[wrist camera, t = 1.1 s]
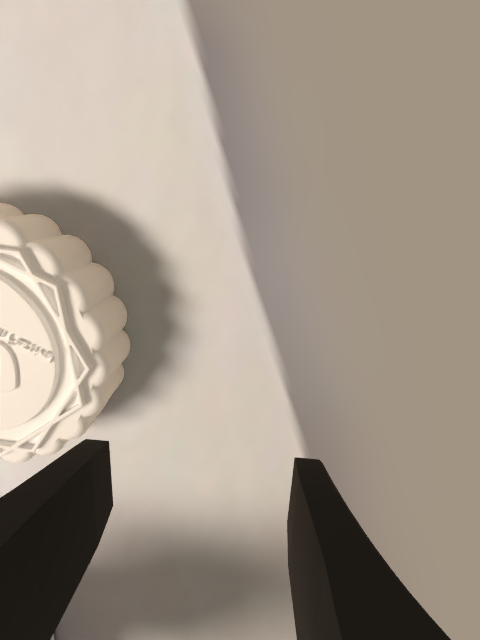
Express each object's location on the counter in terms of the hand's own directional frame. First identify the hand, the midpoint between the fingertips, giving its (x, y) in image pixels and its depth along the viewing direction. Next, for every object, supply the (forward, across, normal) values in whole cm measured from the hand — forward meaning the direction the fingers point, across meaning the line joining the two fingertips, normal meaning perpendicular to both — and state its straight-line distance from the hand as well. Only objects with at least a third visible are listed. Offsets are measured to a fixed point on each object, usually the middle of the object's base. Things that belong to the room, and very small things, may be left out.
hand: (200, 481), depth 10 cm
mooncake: (+10, +11, 0) cm, 15 cm away
